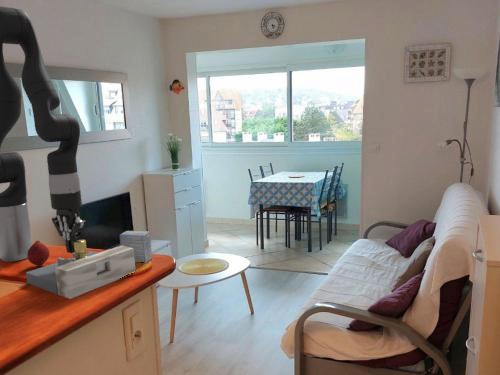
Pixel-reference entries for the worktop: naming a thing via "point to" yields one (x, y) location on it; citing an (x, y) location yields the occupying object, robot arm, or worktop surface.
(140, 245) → the medicine box
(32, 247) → the onion
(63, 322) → the worktop surface
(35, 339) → the worktop surface
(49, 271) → the door leaf
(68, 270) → the block
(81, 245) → the bolt
